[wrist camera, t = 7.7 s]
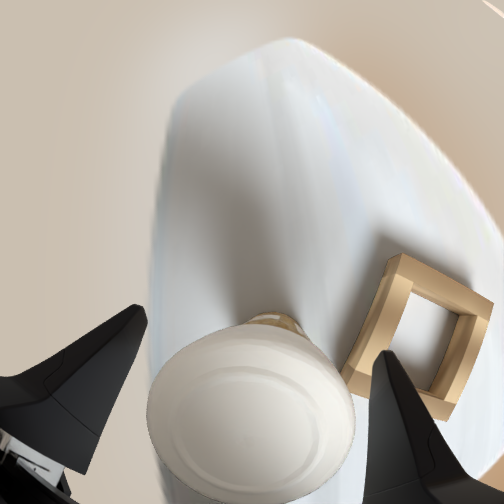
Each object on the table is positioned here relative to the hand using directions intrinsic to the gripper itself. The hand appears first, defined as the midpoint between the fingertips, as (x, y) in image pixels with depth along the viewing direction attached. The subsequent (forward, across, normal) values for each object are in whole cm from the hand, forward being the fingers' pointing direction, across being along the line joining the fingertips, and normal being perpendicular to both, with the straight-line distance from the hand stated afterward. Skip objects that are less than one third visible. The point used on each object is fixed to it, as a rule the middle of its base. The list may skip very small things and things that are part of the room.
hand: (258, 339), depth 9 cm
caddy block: (+6, -11, +6) cm, 14 cm away
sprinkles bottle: (+5, 0, +7) cm, 9 cm away
